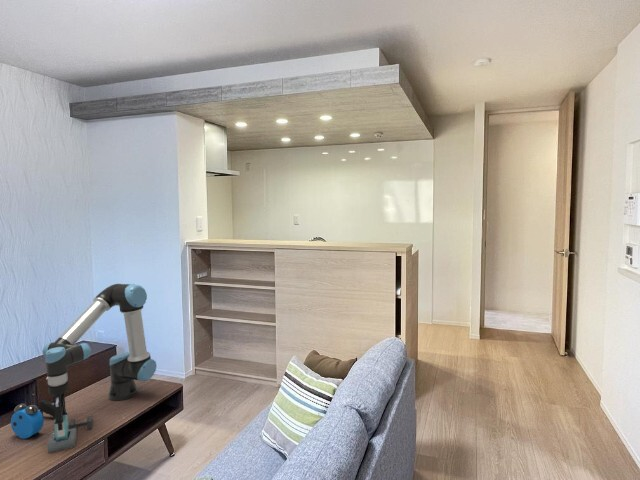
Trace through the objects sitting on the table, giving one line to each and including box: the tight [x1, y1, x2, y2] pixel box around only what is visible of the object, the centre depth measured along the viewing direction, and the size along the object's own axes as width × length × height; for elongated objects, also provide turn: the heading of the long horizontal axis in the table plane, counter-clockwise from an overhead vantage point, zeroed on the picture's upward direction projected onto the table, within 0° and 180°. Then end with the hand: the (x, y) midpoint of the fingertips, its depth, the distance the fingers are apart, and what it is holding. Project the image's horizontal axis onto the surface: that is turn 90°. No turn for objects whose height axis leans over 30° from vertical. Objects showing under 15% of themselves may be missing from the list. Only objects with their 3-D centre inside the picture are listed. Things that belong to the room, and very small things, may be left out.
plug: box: [53, 414, 69, 440], centre depth 187 cm, size 4×4×11 cm
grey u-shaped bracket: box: [68, 415, 94, 431], centre depth 201 cm, size 9×7×4 cm
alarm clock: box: [10, 403, 45, 439], centre depth 195 cm, size 13×6×15 cm, turn 75°
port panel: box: [46, 427, 78, 454], centre depth 187 cm, size 10×10×4 cm
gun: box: [38, 399, 67, 419], centre depth 211 cm, size 3×16×10 cm, turn 79°
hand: (62, 433), depth 187 cm, fingers closed on plug, 4 cm apart
